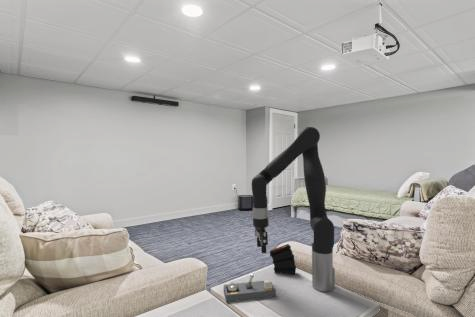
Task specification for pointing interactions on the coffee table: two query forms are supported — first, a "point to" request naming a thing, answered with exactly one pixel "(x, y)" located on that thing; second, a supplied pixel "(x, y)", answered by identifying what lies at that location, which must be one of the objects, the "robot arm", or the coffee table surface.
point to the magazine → (283, 260)
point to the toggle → (251, 278)
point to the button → (232, 288)
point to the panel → (249, 291)
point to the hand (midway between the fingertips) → (261, 249)
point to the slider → (267, 284)
